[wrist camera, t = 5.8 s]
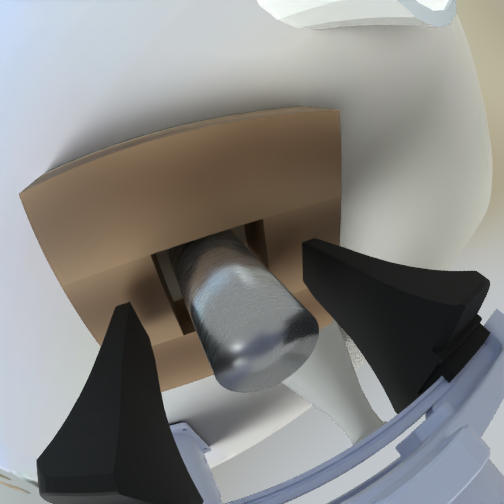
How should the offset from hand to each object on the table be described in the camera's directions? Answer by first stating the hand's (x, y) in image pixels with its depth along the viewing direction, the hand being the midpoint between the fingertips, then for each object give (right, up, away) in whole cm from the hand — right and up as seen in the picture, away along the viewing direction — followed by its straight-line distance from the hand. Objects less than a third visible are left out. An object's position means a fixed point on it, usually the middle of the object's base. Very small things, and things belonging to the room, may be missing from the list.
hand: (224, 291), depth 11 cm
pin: (-1, +2, +2) cm, 3 cm away
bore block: (-1, +2, +3) cm, 4 cm away
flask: (+6, -7, +12) cm, 14 cm away
